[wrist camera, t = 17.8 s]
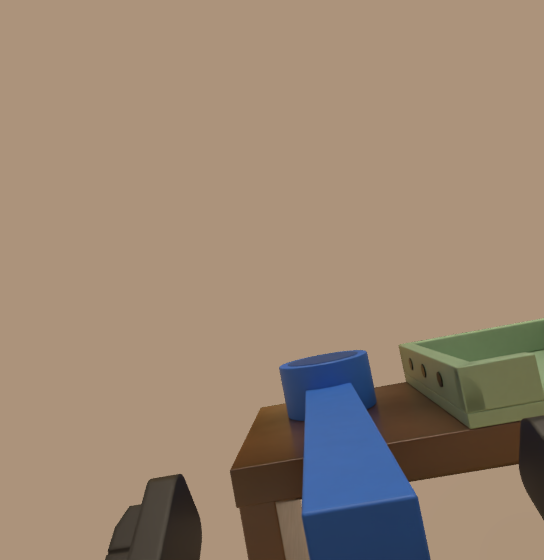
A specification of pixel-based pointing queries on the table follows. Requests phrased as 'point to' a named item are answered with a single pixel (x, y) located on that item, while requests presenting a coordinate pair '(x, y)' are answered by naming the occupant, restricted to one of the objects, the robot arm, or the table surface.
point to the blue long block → (349, 465)
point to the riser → (399, 438)
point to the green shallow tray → (481, 373)
